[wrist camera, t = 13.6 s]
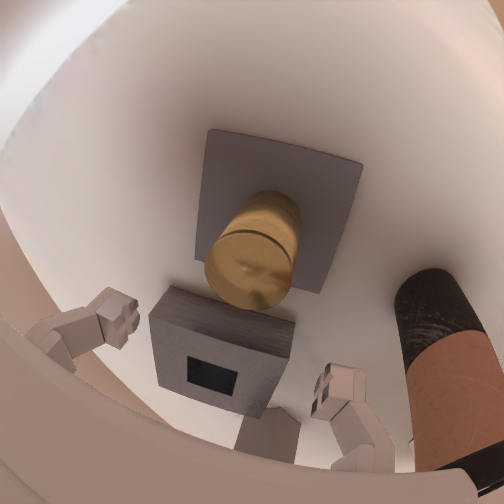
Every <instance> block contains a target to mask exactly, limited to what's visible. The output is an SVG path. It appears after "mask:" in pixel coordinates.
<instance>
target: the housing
mask: <svg viewBox="0 0 504 504" xmlns="http://www.w3.org/2000/svg"><path fill="white" fill-rule="evenodd" d="M148 316H149V324H150V332H151V340H152V347H153V354H154V360H155V367H156V372H157V378H158V384H159V386H161V387H163V388H166V389H168V390H171V391H173V392H176V393H178V394H181V395H183V396H186V397H189V398H192V399H194V400H197V401H200V402H203V403H206V404H209V405H212V406H215V407H218V408H221V409H224V410H228V411H231V412H235V413H238V414H242V415H245V416H249V417H253V418H257V419H260V418H261V416H262V414H263V412H264V410H265V408H266V406H267V404H268V402H269V400H270V398H271V396H272V394H273V392H274V390H275V388H276V386H277V384H278V382H279V380H280V378H281V376H282V374H283V372H284V369H285V367H286V365H287V363H288V361H289V357H290V352H291V346H292V340H293V334H294V328H295V323H293V322H289V321H285V320H282V319H278V318H274V317H270V316H267V315H263V314H260V313H256V312H253V311H249V310H246V309H242V308H238V307H235V306H232V305H229V304H225V303H222V302H219V301H215V300H212V299H209V298H206V297H203V296H199V295H196V294H193V293H190V292H187V291H184V290H181V289H178V288H175V287H172V286H170V287H169V288H168V290H167V291H166V292H165V294H164V295H163V296H162V298H161V299H160V300H159V301H158V303H157V304H156V305H155V307H154V308H153V309H152V311H151V312H150V313H149V315H148Z"/></svg>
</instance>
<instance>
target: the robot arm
mask: <svg viewBox="0 0 504 504" xmlns="http://www.w3.org/2000/svg"><path fill="white" fill-rule="evenodd" d="M137 307H138V300H136V299H134V298H132V297H130V296H128V295H125V294H123V293H121V292H119V291H117V290H115V289H113V288H111V287H107V288H105V289H104V290H103V291H102V292H101V293H100V294H99V295H98V296H97V297H96V298H95V299H94V300H93V301H92V302H91V303H90V304H89V305H88V306H87V307H86V308H85V307H80V308H77V309H73V310H70V311H67V312H63V313H60V314H57V315H54V316H50V317H47V318H44V319H41V320H40V321H39V322H38V323H37V324H36V325H35V326H34V327H33V328H32V329H31V330H30V331H29V332H28V333H27V334H26V335H25V336H23V335H22V334H21V333H19V331H17V330H16V329H15V328H14V327H13V326H12V325H11V324H10V323H9V322H8V321H7V320H5V319H4V318H3V317H2V316H1V315H0V504H478V492H477V488H476V486H475V485H474V483H473V481H472V480H471V479H470V477H469V476H468V474H467V473H466V472H465V471H464V470H463V469H461V468H454V469H447V470H438V471H427V472H412V473H395V445H394V443H393V442H392V440H391V439H390V437H389V435H388V434H387V432H386V431H385V429H384V427H383V426H382V424H381V423H380V421H379V420H378V418H377V416H376V415H375V413H374V412H373V410H372V408H371V407H370V405H369V404H366V394H365V372H364V370H360V369H356V368H352V367H347V366H342V365H338V364H333V363H328V364H327V366H326V367H325V373H323V374H321V375H320V377H319V378H318V380H317V383H316V386H315V390H314V396H315V398H316V400H315V401H314V402H313V404H312V411H311V417H312V418H316V419H321V420H326V421H330V425H331V427H332V430H333V432H334V434H335V437H336V439H337V441H338V444H339V446H340V449H341V451H342V453H343V456H344V457H342V458H341V459H339V460H337V461H336V462H334V463H333V464H331V470H328V469H320V468H313V467H307V466H301V465H295V464H290V463H285V462H280V461H275V460H271V459H266V458H262V457H258V456H254V455H250V454H247V453H243V452H239V451H236V450H233V449H229V448H226V447H223V446H220V445H217V444H214V443H211V442H208V441H205V440H202V439H200V438H197V437H194V436H192V435H189V434H187V433H184V432H181V431H179V430H177V429H174V428H172V427H169V426H167V425H165V424H163V423H160V422H158V421H156V420H154V419H152V418H149V417H147V416H145V415H143V414H141V413H139V412H137V411H135V410H133V409H131V408H130V407H128V406H126V405H124V404H122V403H120V402H118V401H116V400H115V399H113V398H111V397H109V396H107V395H106V394H104V393H102V392H101V391H99V390H98V389H96V388H94V387H93V386H91V385H89V384H88V383H86V382H85V381H83V380H82V379H80V378H79V377H77V376H76V375H74V373H75V371H76V366H75V365H74V362H73V361H72V359H74V358H76V357H78V356H80V355H82V354H84V353H86V352H88V351H90V350H92V349H94V348H96V347H99V346H101V345H103V344H105V343H107V344H109V345H111V346H113V347H115V348H117V349H119V350H121V348H122V347H123V346H124V345H125V343H126V342H127V341H128V335H129V334H132V333H134V332H135V330H136V329H137V327H138V324H139V320H140V314H139V312H138V311H137ZM409 447H410V449H411V452H412V455H413V458H414V462H415V452H414V439H413V440H412V441H411V442H410V444H409Z"/></svg>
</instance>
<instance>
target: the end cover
mask: <svg viewBox="0 0 504 504" xmlns="http://www.w3.org/2000/svg"><path fill="white" fill-rule="evenodd" d="M301 225H302V218H301V213H300V210H299V208H298V206H297V205H296V203H295V202H294V201H293V200H292V199H291V198H290V197H288V196H287V195H285V194H283V193H281V192H277V191H271V190H267V191H261V192H258V193H255V194H254V195H252V196H251V197H249V198H248V199H247V200H246V202H245V203H244V204H243V206H242V207H241V208H240V210H239V211H238V213H237V214H236V215H235V217H234V218H233V219H232V221H231V222H230V223H229V225H228V226H227V227H226V229H225V230H224V232H223V233H222V234H221V236H220V237H219V239H218V240H217V241H216V243H215V244H214V245H213V247H212V248H211V250H210V251H209V253H208V255H207V257H206V260H205V274H206V278H207V280H208V283H209V284H210V286H211V288H212V289H213V290H214V292H215V293H216V294H217V295H218V296H219V297H220V298H222V299H223V300H224V301H226V302H227V303H229V304H231V305H233V306H236V307H238V308H242V309H246V310H263V309H268V308H271V307H273V306H275V305H277V304H278V303H280V302H281V301H282V300H283V299H284V298H285V297H286V295H287V294H288V292H289V289H290V286H291V281H292V276H293V271H294V265H295V260H296V254H297V248H298V243H299V237H300V231H301Z"/></svg>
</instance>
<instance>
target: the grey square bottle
mask: <svg viewBox="0 0 504 504" xmlns="http://www.w3.org/2000/svg"><path fill="white" fill-rule="evenodd" d="M300 426H301V424H300V423H298V422H297V421H296V420H295V419H293V418H292V417H291V416H290V415H289V414H287V413H286V412H285V411H284V410H283V409H282V408H280V407H277V408H271V409H265V410H264V412H263V414H262V416H261V418H260V419H257V418H253V417H249V416H245V415H244V418H243V421H242V424H241V428H240V431H239V434H238V437H237V440H236V444H235V447H234V450H236V451H239V452H243V453H247V454H250V455H254V456H258V457H262V458H266V459H271V460H275V461H280V462H285V463H290V464H294V460H295V455H296V449H297V444H298V438H299V432H300Z"/></svg>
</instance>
